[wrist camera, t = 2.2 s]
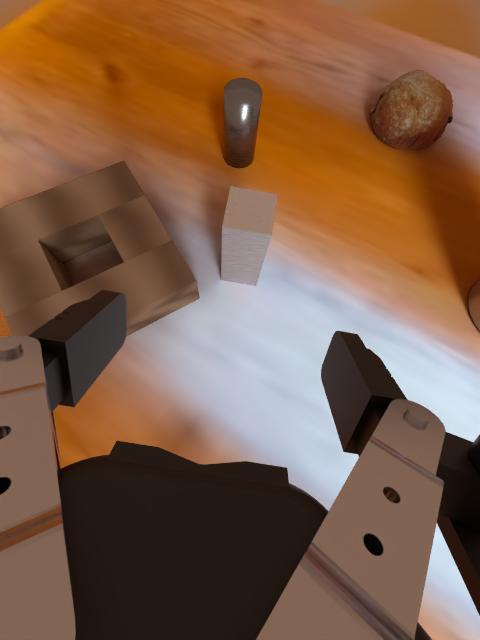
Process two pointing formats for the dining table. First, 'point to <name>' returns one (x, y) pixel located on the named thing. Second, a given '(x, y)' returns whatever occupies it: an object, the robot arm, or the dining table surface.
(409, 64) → the dining table surface
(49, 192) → the socket block
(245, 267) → the square bit
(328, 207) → the dining table surface
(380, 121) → the bread roll
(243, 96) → the round bit
